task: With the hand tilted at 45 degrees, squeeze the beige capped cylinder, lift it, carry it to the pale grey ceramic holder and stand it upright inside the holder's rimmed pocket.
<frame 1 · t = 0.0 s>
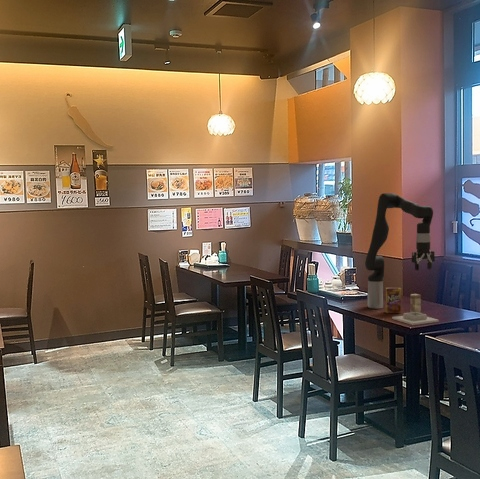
hand: (423, 269, 328), 29 cm above the table, tool pointing down, fingers open, 8 cm apart
candy box: (393, 312, 355), on the table
holder: (415, 320, 332), on the table
beige capped cylinder: (415, 314, 348), on the table
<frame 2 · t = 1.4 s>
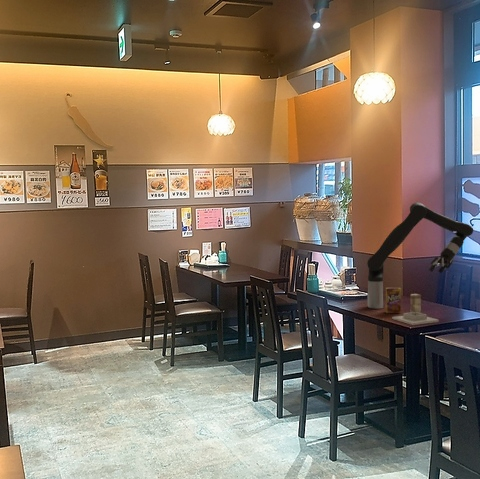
hand: (434, 271, 351), 25 cm above the table, tool tilted 45°, fingers open, 8 cm apart
nothing on the table moved.
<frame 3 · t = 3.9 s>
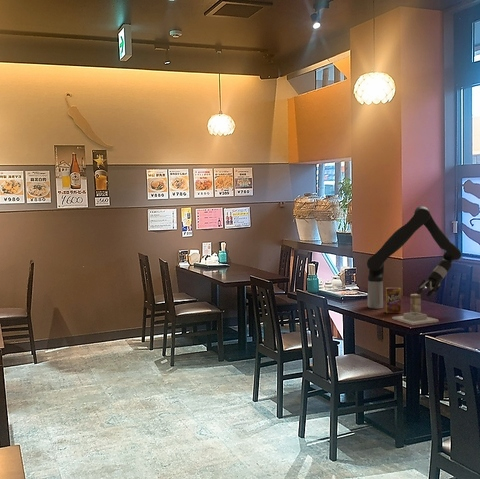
hand: (422, 295, 349), 11 cm above the table, tool tilted 45°, fingers open, 8 cm apart
nothing on the table moved.
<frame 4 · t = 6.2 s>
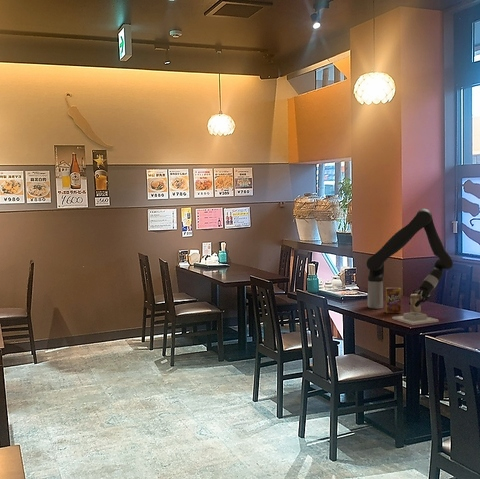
hand: (413, 305, 347), 6 cm above the table, tool tilted 45°, fingers closed on beige capped cylinder, 4 cm apart
beige capped cylinder: (415, 314, 348), on the table, touching gripper
everything else where it was.
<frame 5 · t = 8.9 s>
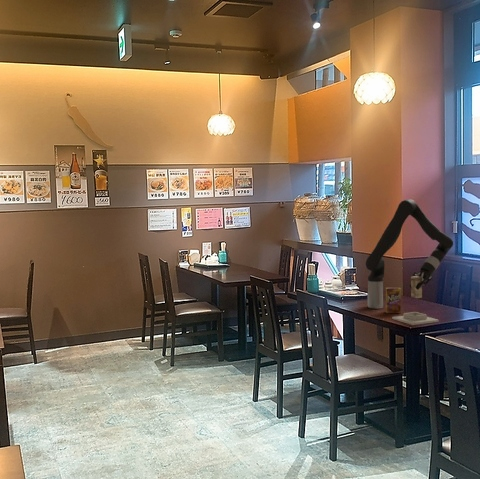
hand: (413, 288, 334), 18 cm above the table, tool tilted 45°, fingers closed on beige capped cylinder, 4 cm apart
beige capped cylinder: (416, 297, 335), point 13 cm above the table, touching gripper
everything else where it was.
when the fingers open (8 cm above the table, at t = 12.0 s): beige capped cylinder drops 1 cm, resting on holder.
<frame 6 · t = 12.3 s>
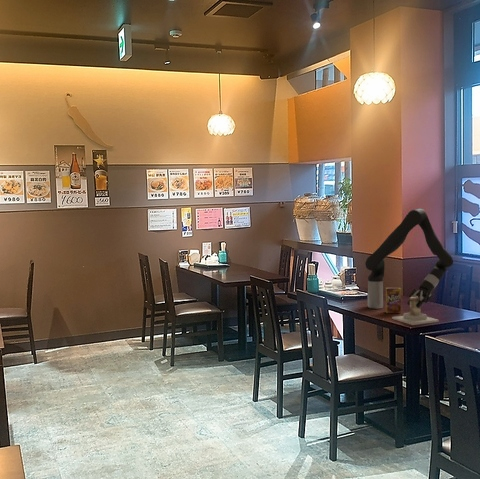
hand: (412, 305, 331), 9 cm above the table, tool tilted 45°, fingers open, 7 cm apart
beige capped cylinder: (415, 318, 332), point 1 cm above the table, touching holder
everything else where it was.
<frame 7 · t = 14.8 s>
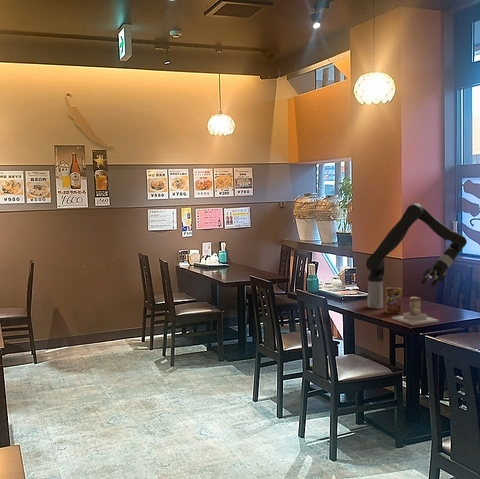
hand: (427, 284, 335), 20 cm above the table, tool tilted 45°, fingers open, 8 cm apart
nothing on the table moved.
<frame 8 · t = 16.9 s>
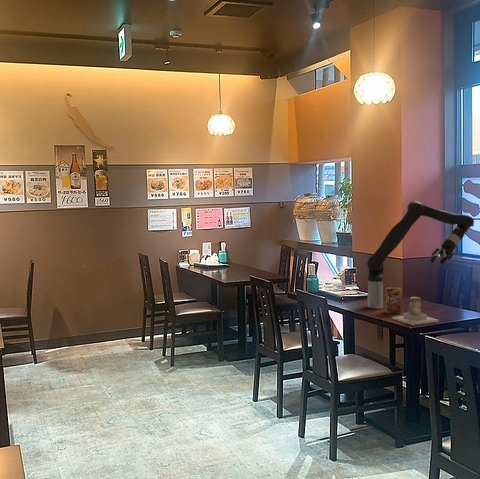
hand: (436, 262, 348), 31 cm above the table, tool tilted 45°, fingers open, 8 cm apart
nothing on the table moved.
at the end: beige capped cylinder 0.1 cm off-centre on the holder, point 1.2 cm above the holder's base; beige capped cylinder tilted 0°; the gripper is holding nothing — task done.
